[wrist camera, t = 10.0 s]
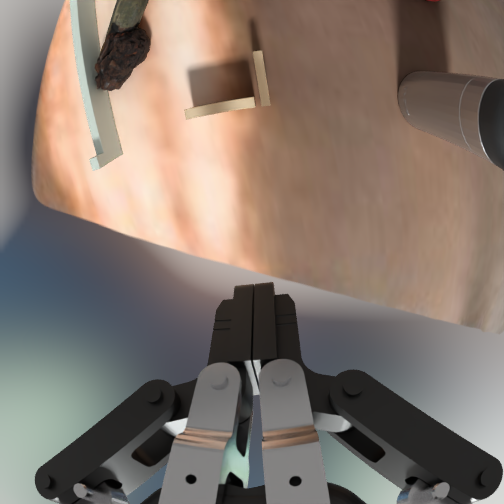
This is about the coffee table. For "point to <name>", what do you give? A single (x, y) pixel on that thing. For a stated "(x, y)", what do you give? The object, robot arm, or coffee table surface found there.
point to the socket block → (236, 103)
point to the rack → (93, 83)
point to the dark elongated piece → (122, 45)
